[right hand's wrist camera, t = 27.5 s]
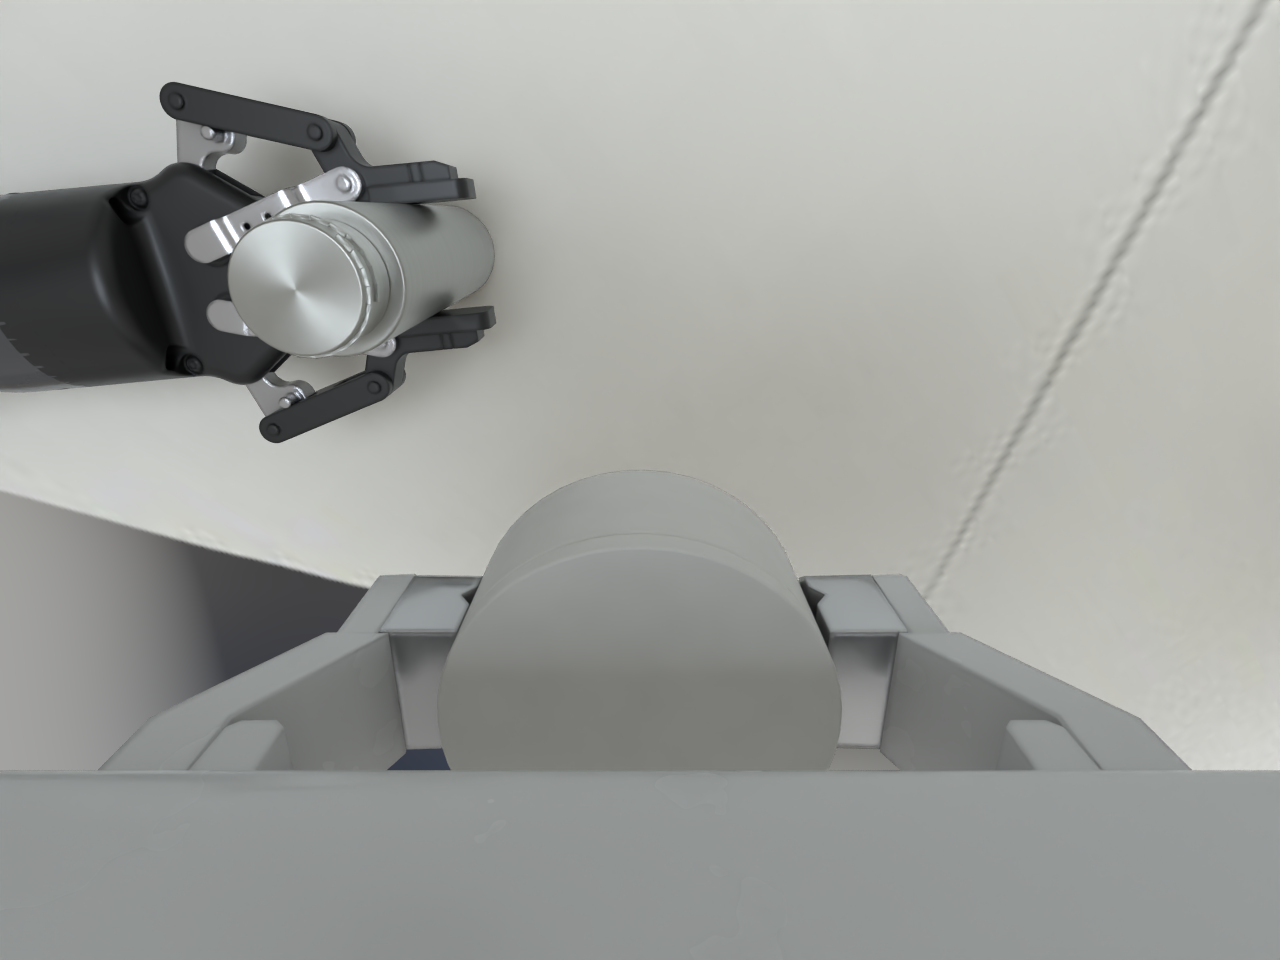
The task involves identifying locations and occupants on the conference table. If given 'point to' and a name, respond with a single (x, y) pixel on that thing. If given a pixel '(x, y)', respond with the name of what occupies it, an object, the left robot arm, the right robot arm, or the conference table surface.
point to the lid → (639, 640)
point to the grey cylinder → (354, 272)
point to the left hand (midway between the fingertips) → (479, 254)
